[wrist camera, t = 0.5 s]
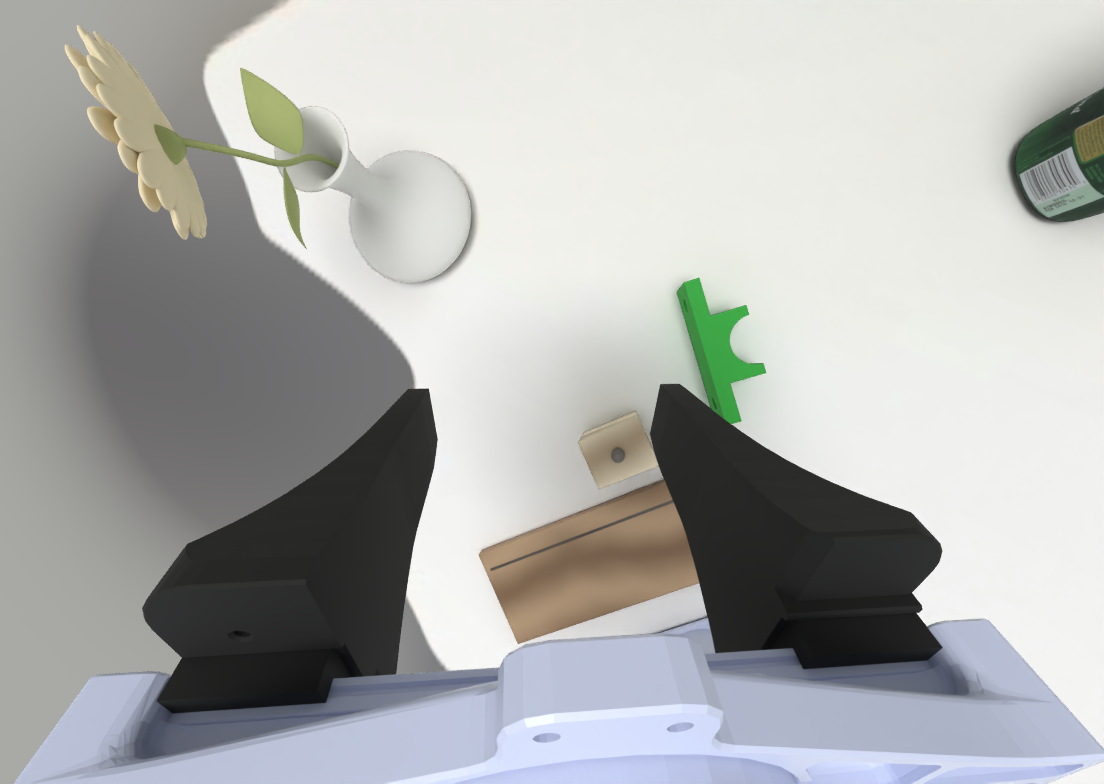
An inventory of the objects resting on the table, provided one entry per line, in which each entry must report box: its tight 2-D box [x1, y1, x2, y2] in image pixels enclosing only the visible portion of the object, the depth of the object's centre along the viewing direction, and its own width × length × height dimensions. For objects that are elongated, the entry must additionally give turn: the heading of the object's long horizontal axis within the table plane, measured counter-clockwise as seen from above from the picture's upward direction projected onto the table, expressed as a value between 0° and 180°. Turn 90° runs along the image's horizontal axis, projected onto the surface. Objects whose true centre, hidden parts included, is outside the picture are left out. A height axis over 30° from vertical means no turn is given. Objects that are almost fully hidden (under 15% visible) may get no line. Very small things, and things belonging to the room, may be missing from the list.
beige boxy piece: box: [578, 411, 659, 489], centre depth 35 cm, size 4×5×6 cm
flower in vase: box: [65, 25, 471, 283], centre depth 27 cm, size 13×11×25 cm
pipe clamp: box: [677, 278, 766, 424], centre depth 33 cm, size 11×4×5 cm, turn 17°
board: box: [479, 480, 699, 644], centre depth 38 cm, size 9×20×1 cm, turn 115°
